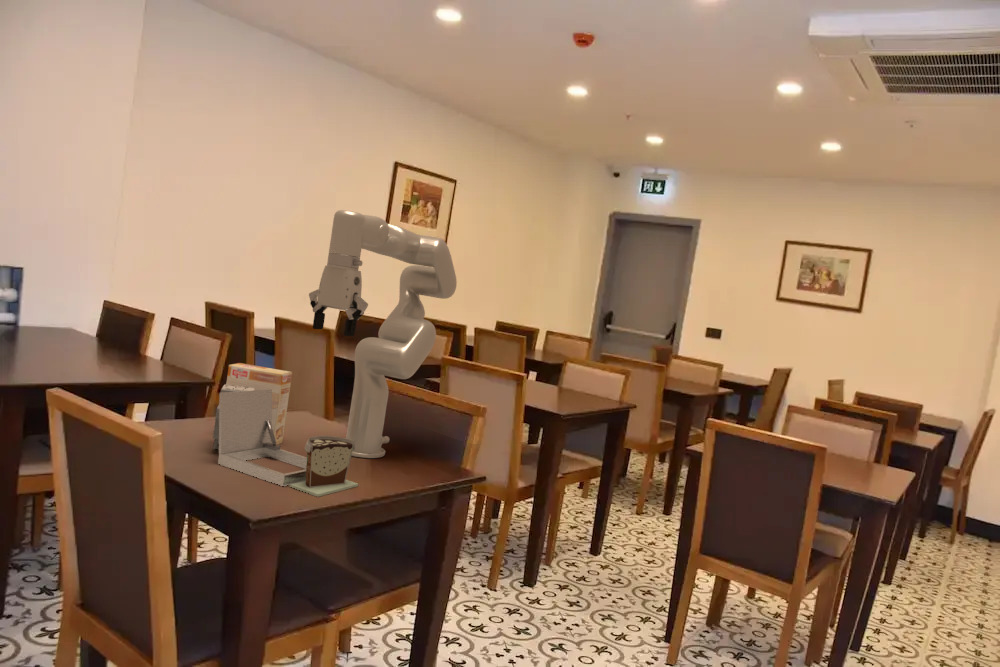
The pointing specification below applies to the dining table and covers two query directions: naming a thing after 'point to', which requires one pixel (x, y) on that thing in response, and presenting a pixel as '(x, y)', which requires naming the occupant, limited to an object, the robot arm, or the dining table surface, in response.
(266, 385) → the coffeecake box
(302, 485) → the mat
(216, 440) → the circuit breaker
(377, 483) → the dining table surface
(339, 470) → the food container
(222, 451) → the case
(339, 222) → the robot arm
